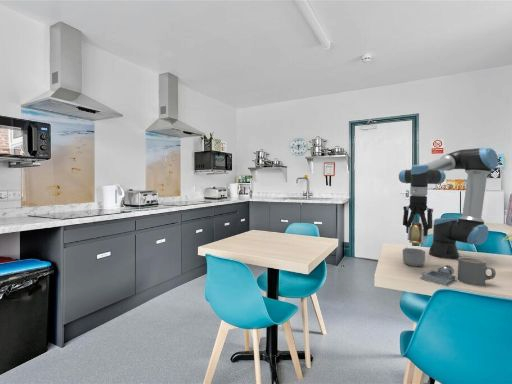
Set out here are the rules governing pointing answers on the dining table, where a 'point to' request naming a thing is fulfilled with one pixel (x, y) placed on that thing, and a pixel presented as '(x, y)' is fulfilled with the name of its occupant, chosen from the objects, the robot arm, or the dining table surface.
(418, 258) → the teacup
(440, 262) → the dining table surface
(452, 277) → the flange seat
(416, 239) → the cylinder
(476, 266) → the coffee mug
